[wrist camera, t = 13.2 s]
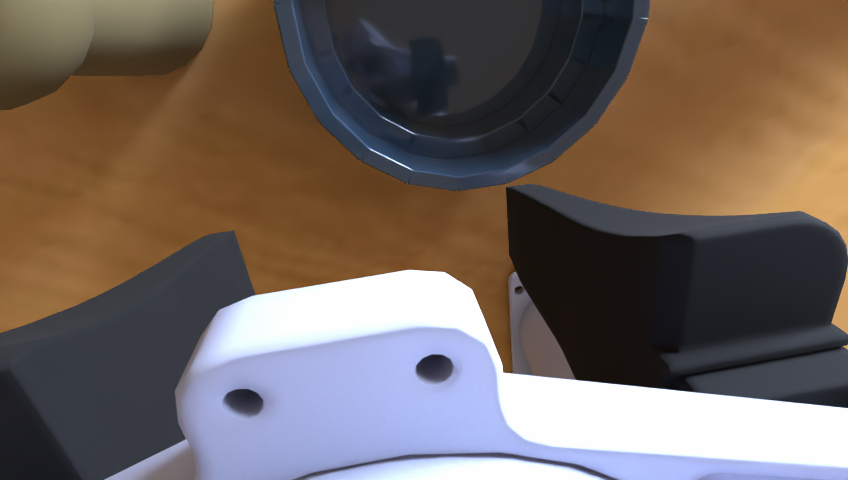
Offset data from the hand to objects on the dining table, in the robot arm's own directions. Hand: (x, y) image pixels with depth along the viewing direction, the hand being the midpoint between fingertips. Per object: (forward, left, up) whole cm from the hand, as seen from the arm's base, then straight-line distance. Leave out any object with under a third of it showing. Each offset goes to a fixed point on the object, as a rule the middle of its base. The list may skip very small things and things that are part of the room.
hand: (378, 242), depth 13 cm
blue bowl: (+5, -4, -10) cm, 12 cm away
